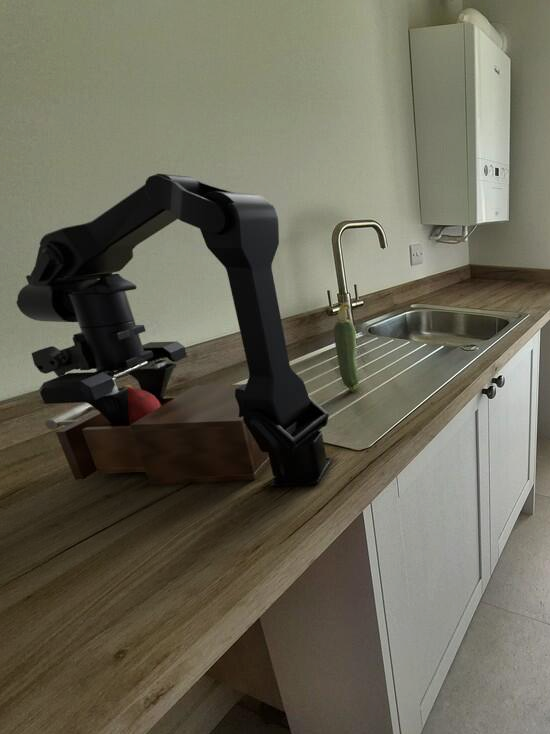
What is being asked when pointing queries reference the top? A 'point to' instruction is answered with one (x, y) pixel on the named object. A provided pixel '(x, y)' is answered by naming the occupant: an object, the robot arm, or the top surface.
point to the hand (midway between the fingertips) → (140, 420)
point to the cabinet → (198, 439)
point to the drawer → (96, 442)
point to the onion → (140, 403)
